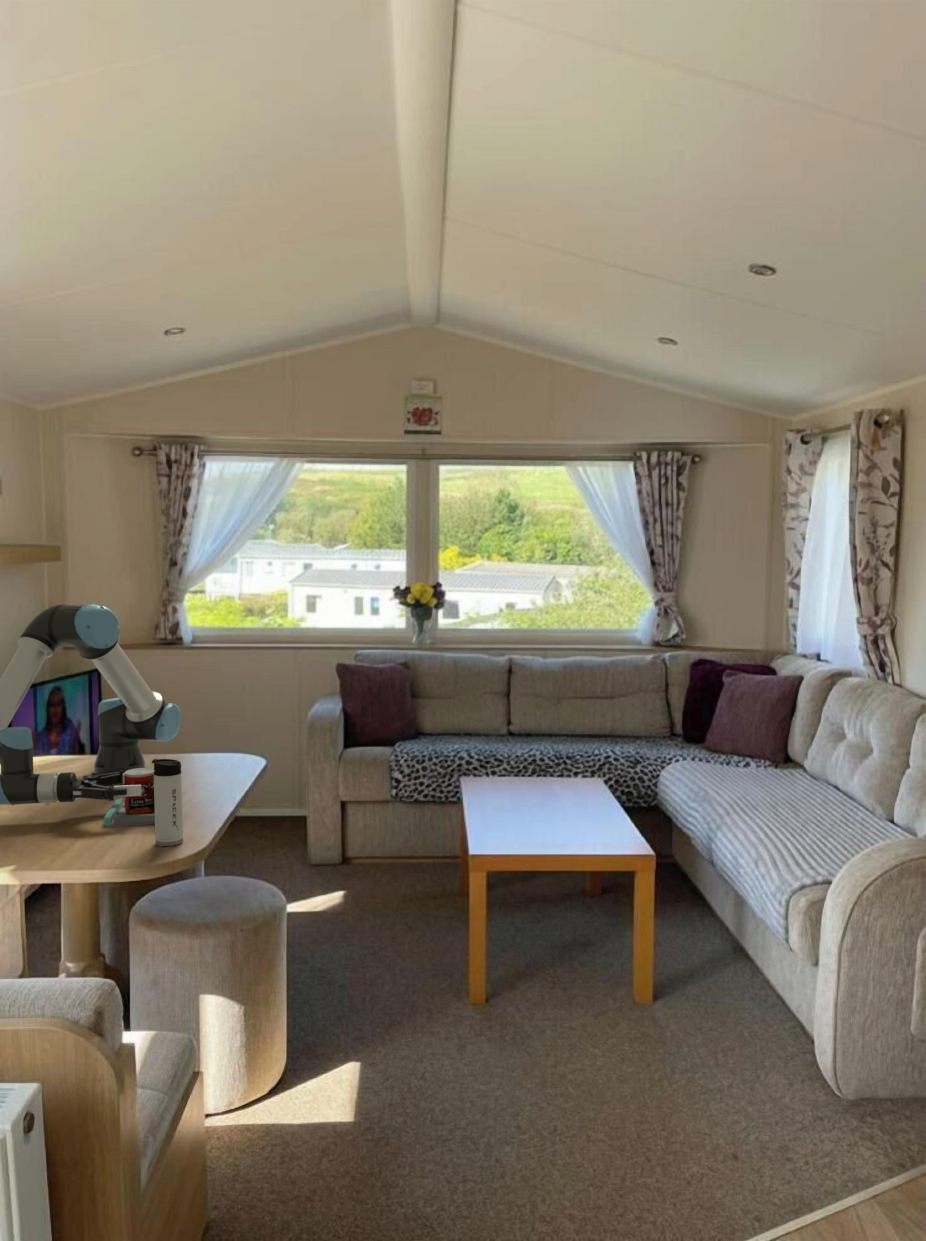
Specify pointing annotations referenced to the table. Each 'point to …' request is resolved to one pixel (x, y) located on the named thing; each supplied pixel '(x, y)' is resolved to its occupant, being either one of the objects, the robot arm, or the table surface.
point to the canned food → (146, 800)
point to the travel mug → (168, 802)
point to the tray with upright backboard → (126, 816)
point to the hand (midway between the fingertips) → (145, 783)
